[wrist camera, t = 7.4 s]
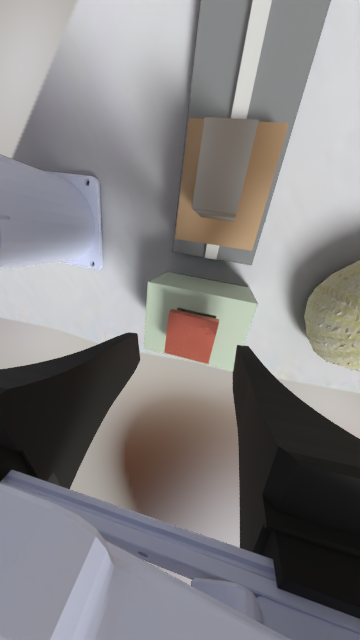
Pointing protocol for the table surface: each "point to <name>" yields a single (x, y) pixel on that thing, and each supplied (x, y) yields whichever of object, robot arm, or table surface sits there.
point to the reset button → (190, 335)
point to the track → (251, 77)
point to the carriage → (227, 179)
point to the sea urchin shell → (336, 318)
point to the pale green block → (200, 312)
